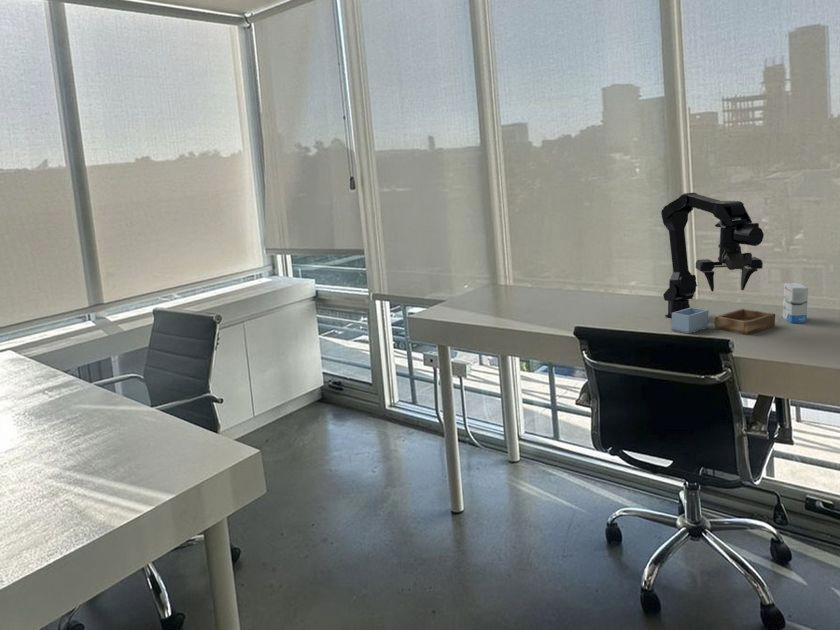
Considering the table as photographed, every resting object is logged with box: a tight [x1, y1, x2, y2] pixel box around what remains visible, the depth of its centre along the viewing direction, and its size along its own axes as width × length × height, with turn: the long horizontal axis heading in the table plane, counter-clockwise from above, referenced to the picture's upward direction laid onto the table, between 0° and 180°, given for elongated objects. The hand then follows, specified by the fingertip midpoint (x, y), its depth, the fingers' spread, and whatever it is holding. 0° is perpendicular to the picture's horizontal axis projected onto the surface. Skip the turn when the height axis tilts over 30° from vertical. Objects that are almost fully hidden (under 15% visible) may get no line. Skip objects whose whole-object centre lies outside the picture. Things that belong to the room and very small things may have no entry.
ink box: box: [782, 282, 809, 324], centre depth 223 cm, size 8×5×12 cm, turn 168°
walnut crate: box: [714, 308, 776, 336], centre depth 220 cm, size 11×15×4 cm
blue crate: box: [671, 307, 710, 334], centre depth 222 cm, size 6×10×6 cm, turn 122°
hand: (727, 290), depth 216 cm, fingers open, 9 cm apart
